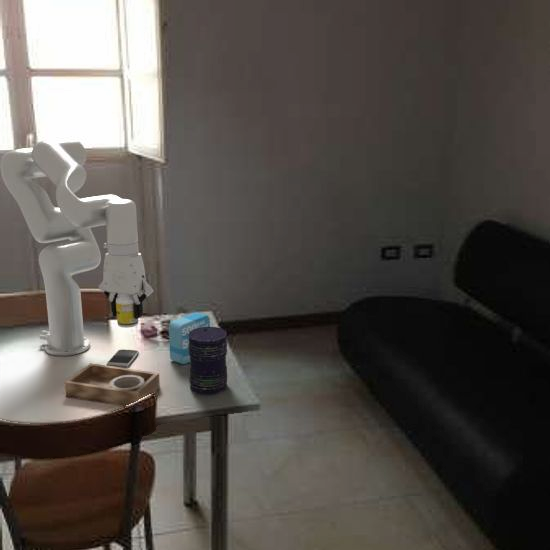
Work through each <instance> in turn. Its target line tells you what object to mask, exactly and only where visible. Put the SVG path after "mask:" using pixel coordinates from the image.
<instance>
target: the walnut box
mask: <svg viewBox="0 0 550 550" xmlns="http://www.w3.org/2000/svg"><path fill="white" fill-rule="evenodd" d="M160 384H161V383H160V372H155V371H148V370H147V371H146V370H140V369H132V368H121V367H114V366H107V365H106V364H99V363H92V362H90V363H88V365H86V366H85V367H84V368H82V369H81V370H79V371H78V372H76V373H75V374H74V375H72V376H71V377H70V378H69V379H67V380H66V381H65V382H64V389H65V390H64V391H65V398H70V399H78V400H83V401H90V402H94V403H95V402H97V403H101V404H107V405H112V406H113V405H115V406H120V407H125V406H126V405H129V404H131V403H134V402H136V401H138V400H139V399H141V398H143V397H145V396H147V395H149V394H152V393H153V394H155V392H156V391H157V390H159V388H161V386H160ZM153 394H152V395H153Z"/></svg>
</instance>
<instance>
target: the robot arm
mask: <svg viewBox="0 0 550 550" xmlns="http://www.w3.org/2000/svg"><path fill="white" fill-rule="evenodd" d="M86 161H87V151H86V149H85V147H84V145H83V144H82V142H80V141H79V140H77V139H76V138H71V137H70V138H69V137H68V138H67V137H65V138H55V139H43V140H41V141H39V142H37V143H36V144H35V145H33V147H25V148H16V149H12V150H10V151H7V152H5V153H4V154H3V155H2V157H1V159H0V173H1V178H2V180H3V183H4V185H5V186H6V189H7V190H8V192H9V193H10V194H11V195H12V197H13V199H14V200H15V201H16V203H17V205H18V206H19V209H20V211H21V213H22V216H23V218H24V219H25V222H26V224H27V226H28V228H29V231H30V233H31V235H32V237H33V238H34V240H35V241H36V242H38V243H40V244H48V243H54V242H58V241H63V242H58V243H54V244H50V245H48V246H46V247H44V248H42V250H41V251H40V253H39V255H38V264H39V268H40V272H41V274H42V278H43V283H44V289H45V298H46V308H47V309H46V311H47V319H48V321H47V322H48V330H41V331H40V336H39V340H43V341H46V342H47V343H46V344H45V351H46V353H48V354H50V355H52V356H56V357H57V356H61V357H67V356H74V355H77V354H80V353H83V352H85V351H87V350H88V349H90V346H91V341H90V339H88V338H86V337H85V333H84V322H83V321H84V320H83V307H82V296H81V289H80V286H79V285H78V283H77V282H76V281H75V280H74V279H73V278H72V277H73V275H77V274H80V273H81V274H82V273H84V272H88V271H91V270H92V271H93V270H95V269H96V268H97V267H99V265H101V262H102V256H101V250H100V247H99V244H98V242H97V239H96V237H95V236H94V233H93V231H92V229H91V228H95V227H100V226H101V227H102V226H105V227H106V239H107V240H106V241H107V242H104V243H103V245H102V246H103V248H104V249H107V252H106V253H105V255H104V260H103V274H102V276H103V277H102V279H103V280H102V281H101V282H100V284H99V285H98V289H99V290H100V291H101V292H102V293H104V295H105V297H106V298H107V299H108V301H109V302H110V307H111V313H112V317H114V318H115V317H117V312H116V298H117V297H118V296H119V295H118V293H119V294H130V295H133V298H134V300H135V304H134V305H133V307H134V318H135V319H138V320H139V318H141V317H142V316H143V314H144V311H143V306H144V304H143V302H144V301H145V300H146V299H147V298H148V296H150V295H151V294H152V293H153V292H154V289H153V288H152V286H151V285H150V284H149V283H148V281H147V278H146V269H145V265H144V259H143V257H142V253H141V252H139V251H140V250H139V238H138V237H139V236H138V235H139V234H138V220H137V219H138V218H137V217H138V216H137V207H136V202H135V201H133V200H131V199H127V198H121V197H120V196H117V195H116V194H102V195H97V196H90V197H83V198H80V197H78V196H77V195H76V194H75V193H77V192H78V191H79V190H80V189H81V188H82V187H83V186H84V184H85V182H86V180H87V171H86V170H85V168H84V165H85V163H86ZM46 177H47V179H48V180H50V182H52V184H53V185H54V186H55V187H56V190H55V199H56V203H57V207H56V206H55V205H53V203H52V201H51V199H50V197H49V195H48V193H47V191H46V190H45V189H44V188H42V187H41V185H39V184H37V183H36V182H34V181H33V180H32V179H36V178H46ZM65 240H69V241H65ZM143 290H144V291H145V292H144V293H143V292H142V291H143Z"/></svg>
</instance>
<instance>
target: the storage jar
mask: <svg viewBox="0 0 550 550" xmlns="http://www.w3.org/2000/svg"><path fill="white" fill-rule="evenodd" d="M188 335H189V343H188V348H189V355H190V362H189V377H188V379H189V389H190V391H191V392H192V393H193V394H195V395H199V396H205V397H207V396H216V395H219V394H223V392H225V391H226V390H227V388H228V367H227V354H228V349H227V348H228V341H227V340H228V339H227V335H228V333H227V331H226V330H225V329H223V328H220V327H217V326H210V327H200V328H196V329H193V330H191V331H190V332H189V334H188Z"/></svg>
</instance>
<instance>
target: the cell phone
mask: <svg viewBox="0 0 550 550" xmlns="http://www.w3.org/2000/svg"><path fill="white" fill-rule="evenodd" d="M139 353H140V351H139V350H134V349H119V350H117V351H116V352H115V353H114V355H113V356H112V357H111V358H110V359H109V360H108V361H107V362H106V364H105V365H107V366H114V367H121V368H127V369H129V368H130V366H131V364H132V363H133V362H134V361H135V359H136V358H137V357H138V355H139Z"/></svg>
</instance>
